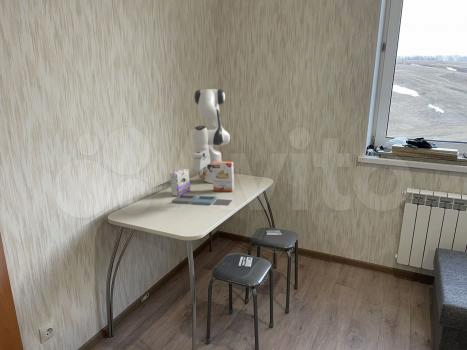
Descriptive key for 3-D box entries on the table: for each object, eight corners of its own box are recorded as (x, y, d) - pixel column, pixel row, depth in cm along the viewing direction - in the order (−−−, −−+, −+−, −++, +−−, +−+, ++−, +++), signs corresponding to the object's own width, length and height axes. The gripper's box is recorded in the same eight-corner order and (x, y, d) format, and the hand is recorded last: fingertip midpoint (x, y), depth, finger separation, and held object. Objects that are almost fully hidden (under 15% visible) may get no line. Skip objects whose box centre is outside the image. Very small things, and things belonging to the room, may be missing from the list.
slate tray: (199, 198, 232) (199, 195, 231) (216, 199, 229) (216, 196, 228) (192, 204, 221) (192, 201, 220) (210, 205, 217) (210, 202, 217)
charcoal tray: (180, 197, 236) (179, 194, 235) (196, 198, 232) (196, 195, 232) (172, 203, 224) (172, 200, 224) (189, 204, 221) (189, 201, 221)
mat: (217, 200, 227) (217, 199, 227) (232, 201, 225) (232, 199, 225) (212, 205, 218) (212, 204, 218) (228, 206, 215) (227, 205, 215)
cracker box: (213, 191, 246) (211, 162, 241) (215, 189, 252) (214, 160, 247) (232, 192, 243) (231, 163, 238) (234, 189, 249) (233, 161, 243)
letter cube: (201, 176, 223) (201, 170, 222) (207, 176, 222) (207, 170, 221) (199, 177, 219) (198, 171, 218) (205, 178, 218) (204, 171, 217)
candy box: (184, 190, 252) (182, 168, 248) (190, 191, 249) (189, 169, 245) (171, 195, 241) (169, 172, 236) (178, 196, 238) (176, 173, 233)
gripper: (202, 149, 227) (204, 169, 230) (191, 155, 208) (192, 177, 211) (212, 149, 225) (213, 170, 229) (200, 155, 206) (202, 178, 210)
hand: (203, 173), depth 220 cm, fingers closed on letter cube, 4 cm apart
